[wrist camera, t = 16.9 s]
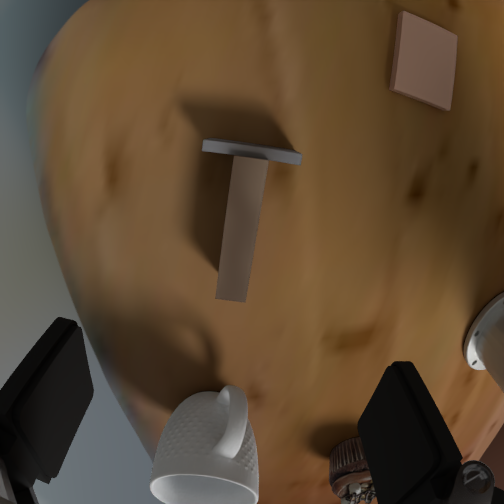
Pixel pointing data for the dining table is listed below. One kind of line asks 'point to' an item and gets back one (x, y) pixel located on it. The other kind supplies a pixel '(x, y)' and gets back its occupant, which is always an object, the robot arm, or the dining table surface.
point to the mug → (207, 452)
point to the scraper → (243, 210)
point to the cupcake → (350, 473)
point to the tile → (424, 61)
